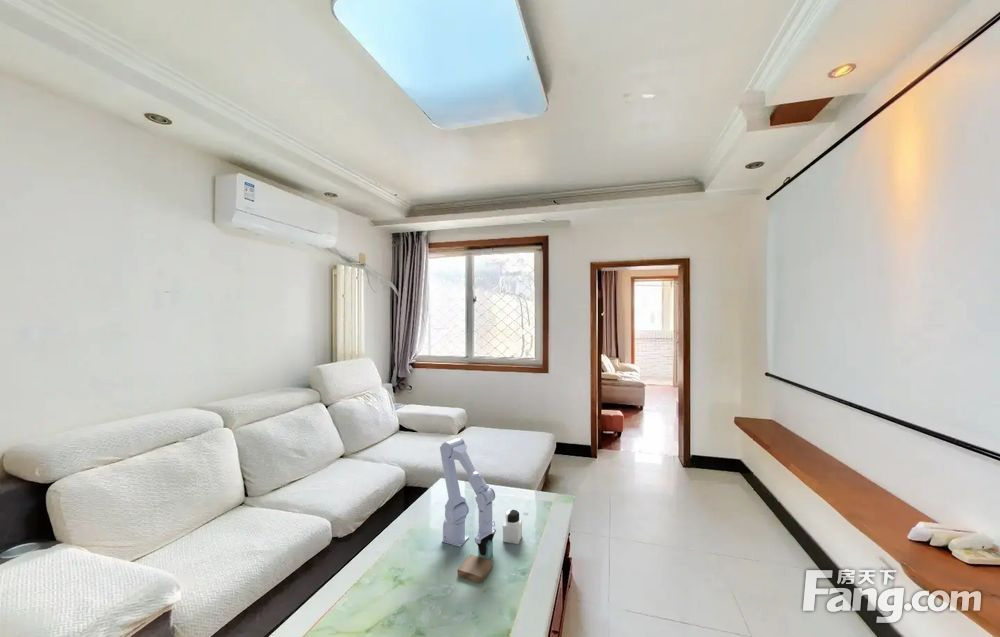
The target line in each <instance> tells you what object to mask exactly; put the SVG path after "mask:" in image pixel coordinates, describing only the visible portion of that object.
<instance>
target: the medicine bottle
mask: <svg viewBox="0 0 1000 637" xmlns="http://www.w3.org/2000/svg"><path fill="white" fill-rule="evenodd" d="M522 536H523V520H522V519H520V512H519V511H518V510H516V509H508V510H506V512H505V521H504V522H503V525H502V542H503V543H509V544H516V545H519V544H520V542H521V538H522Z"/></svg>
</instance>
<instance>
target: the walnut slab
mask: <svg viewBox="0 0 1000 637" xmlns="http://www.w3.org/2000/svg"><path fill="white" fill-rule="evenodd" d="M492 569H493V560H491V559H486V558H482V557H479V556H476V555H474V554H468V556H467V558H466V559H465V560H464V561H463V562H462V564H460V566H459V567H458V568H457V577H459V578H463V579H465V580H469V581H473V582H476V583H478V584H482V583H483V582H484V580H485V579H486V577H487V576H488V574H489V573H490V571H491V570H492Z"/></svg>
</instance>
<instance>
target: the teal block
mask: <svg viewBox="0 0 1000 637" xmlns="http://www.w3.org/2000/svg"><path fill="white" fill-rule="evenodd" d="M493 544H494V542H493V540H492V541H491V540H489V541H488V543H487V548H486V554H485V556H484V555H480V551H479V548H477V551H478V553H477V555H478V557H481V558H485V559H488V560H490V557H491V556H492V555H493V553H494V552H493V549H494V547H493V546H494V545H493Z"/></svg>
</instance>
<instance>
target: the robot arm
mask: <svg viewBox="0 0 1000 637" xmlns="http://www.w3.org/2000/svg"><path fill="white" fill-rule="evenodd" d="M465 442H466V441H465V440H464V439H463V438H462V437H460V436H459V437H456V438H453V439H450V440H447V441H444V442H443V443H441V446H440V447H439V451H440V452H439V453H440V455H441V457H440V458H441V459H440V460H441V464H442V469H443V475H444V481H445V485H446V493H447V497H448V500H447V501H446V503H445V505H444V509H445V510H444V518H445V519H444V520H443V524H442V540H441V542H442V543H445V544H449V545H452V546H456V547H459V548H460V547H462V546H463V544H464V543H465V542H466V541H467V540H468V539H469V538H470V536H469V535H466V519H467V515H468V514H469V511H470V509H469V508H470V507H469V505H468V504H467V500H466V498H465V497H464V496H462V495H461V491H460V490H461V489H460V485H459V479H458V475H457V474H458V473H457V469H456V468H457V467H456V463H455V462H456V461H458V462H459V463H460V465H461V466H462V468H463V469H464V470H465V472H466V474H467V475H468V479H467V480H468V483H469V484H470V486H471V489H473V492H474V493H475V495H476V497H475V502H476V504H477V509H478V529H477V533H476V536H475V537H474V541H475V543H476V544H477V547H478V548H479V551H480V555H484V556H485V554H486V548H487V543H488V541H489V540H491V541H493V539H494V537H495V535H496V532H497V531H496V529H495V528H494V527H495V526H496V521H495V520H493V501H495V499H496V492H495V490H494V488H492V487H491V486H490V485H488V484H487V483H486V481H485V479H484V477H483V476H482V474H481V472H479V471H477V470H476V469H475V467H474V464H473V463H472V461H471V458H470V456H469V454H468V452H467V447H468V446H467V445H466V443H465ZM478 548H477V549H478Z"/></svg>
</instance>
